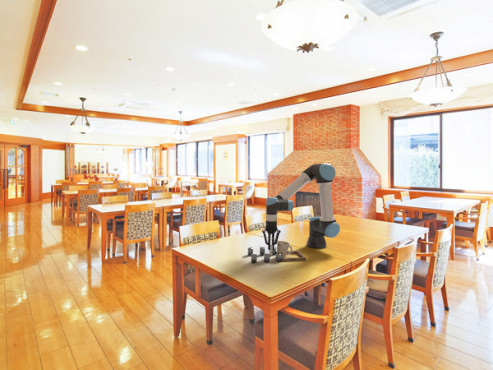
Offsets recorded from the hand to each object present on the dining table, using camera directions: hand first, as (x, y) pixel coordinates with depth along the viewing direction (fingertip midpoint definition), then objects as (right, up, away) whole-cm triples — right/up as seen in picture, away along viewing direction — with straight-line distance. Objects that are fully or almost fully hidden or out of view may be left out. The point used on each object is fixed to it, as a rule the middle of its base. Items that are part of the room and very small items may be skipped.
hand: (270, 254), depth 186 cm
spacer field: (-4, -2, 0) cm, 5 cm away
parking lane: (+13, -2, +2) cm, 13 cm away
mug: (+9, -2, +2) cm, 9 cm away
